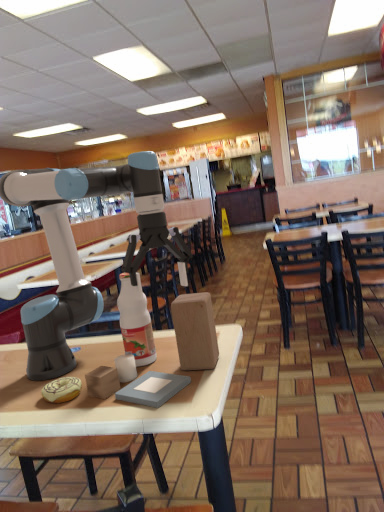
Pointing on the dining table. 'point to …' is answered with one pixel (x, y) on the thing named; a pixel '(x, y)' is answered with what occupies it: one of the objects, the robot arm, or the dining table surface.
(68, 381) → the decorated donut
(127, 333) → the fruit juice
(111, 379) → the walnut cube
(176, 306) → the wooden block
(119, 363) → the marshmallow
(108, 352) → the dining table surface
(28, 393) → the dining table surface
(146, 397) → the slate board
